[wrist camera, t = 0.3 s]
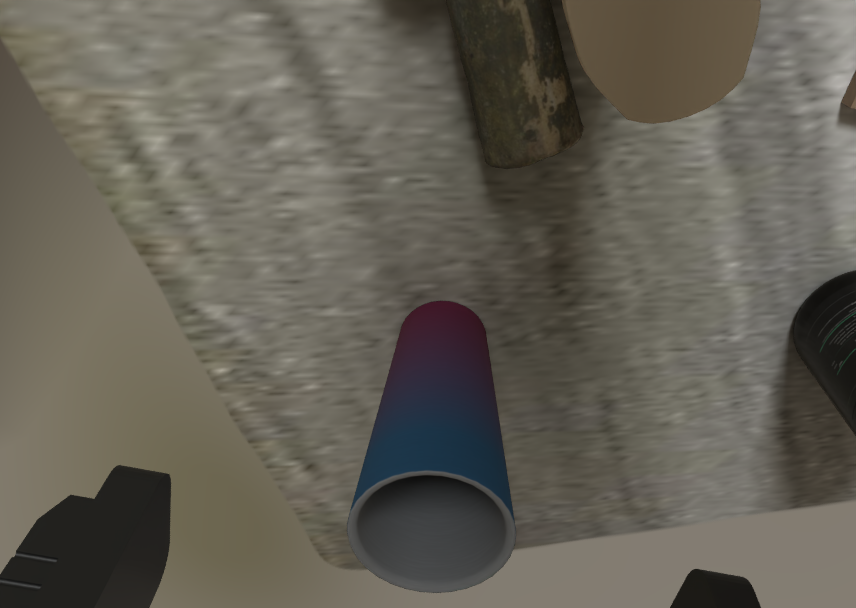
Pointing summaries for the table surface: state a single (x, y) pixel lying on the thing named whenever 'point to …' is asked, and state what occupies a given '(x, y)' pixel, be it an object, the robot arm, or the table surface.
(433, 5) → the table surface
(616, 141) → the table surface
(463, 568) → the cup
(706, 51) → the handle
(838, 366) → the supplement bottle
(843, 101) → the shaft bench
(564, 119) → the dark brown elongated piece
